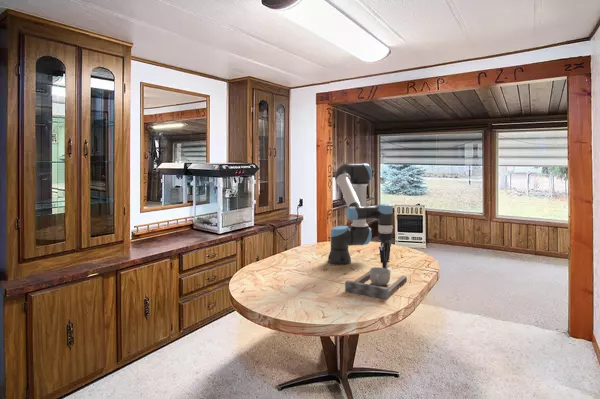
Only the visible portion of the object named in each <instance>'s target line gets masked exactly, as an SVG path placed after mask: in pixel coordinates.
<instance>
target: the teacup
mask: <svg viewBox="0 0 600 399" xmlns="http://www.w3.org/2000/svg"><path fill="white" fill-rule="evenodd" d="M369 271H370V279H369V280H370V282H371V283H372V285H375V286H381V287H385V286H386V285H387V284H389V283H390V280H391V270H390V269H389V268H388V269H385V268H382V267H379V266H378V267H370V269H369Z"/></svg>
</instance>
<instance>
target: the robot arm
mask: <svg viewBox="0 0 600 399" xmlns="http://www.w3.org/2000/svg"><path fill="white" fill-rule="evenodd" d="M334 180H335V182H336V185H338V186H339V188H340V191H341V194H342V196H343V199H344V201H345V204H346V206H347V207H346V209H345V216H346V219H348V220H349V221H352V223H351V224H350V227H349V226H348V225H338V226H333V227H331V230H330V234H329V235H330V236H329V237H330V251H329V254H328V258H327V262H328V263H329V264H332V265H339V266H340V265H348V264H350V263H352V258H351V255H350V254H351V253H350V251H349V247H351V246H367V245H369V243H370V242H371V241H372V235H373V234H372V228H371V227H369V224H368V223H367V220H378V224H377V227H378V228H377V231H378V235H377V236H378V237H377V239H378V240H379V241H380V246H379V247H378V249H379V257H380V263H381V268H385V269H388V270H389V263H390V257H391V246H392V243H391V242H390V241H392V240H393V229H394V227H393V218H394V217H393V214H394V212H393V205H392V204H390V203H380V204H376V205H375V204H374V205H369V206H368V205H367V187H368V186H369V184H370V182H371V181H372V180H373V171H372V167H371V166H370V164H369V163H366V162H359V163H358V162H357V163H354V162H352V163H349V162H348V163H343V164H341V165H339V167H338V168H337V169H336V171H335V174H334Z"/></svg>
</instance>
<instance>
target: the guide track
mask: <svg viewBox="0 0 600 399" xmlns="http://www.w3.org/2000/svg"><path fill="white" fill-rule="evenodd" d="M369 280H370V270H369V271H367V272H366V273H365V274H363V275H361V276H360V277H358V278H357V279H355V280H348V279H347V280H346V281H345V282H344V286H345V287H344V291H345V292H348V293H352V294H353V293H354V294H358V295H363V296H366V297H367V296H368V297H373V298H379V299H383V300H388V299H389V298H390V296H392V295H393V294H394V293H395V292H397V290H398V289H400V288H401V287H402V285H404V284H405V283H406V282H407V280H408V276H407V275H406V276H405V275H402V276H400V277H399V278H398V279H397V280H396V281H394V282H393V283H392V284H390V285H389V287H386V286H378V285H375V284H368V283H365V282H367V281H369Z"/></svg>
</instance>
